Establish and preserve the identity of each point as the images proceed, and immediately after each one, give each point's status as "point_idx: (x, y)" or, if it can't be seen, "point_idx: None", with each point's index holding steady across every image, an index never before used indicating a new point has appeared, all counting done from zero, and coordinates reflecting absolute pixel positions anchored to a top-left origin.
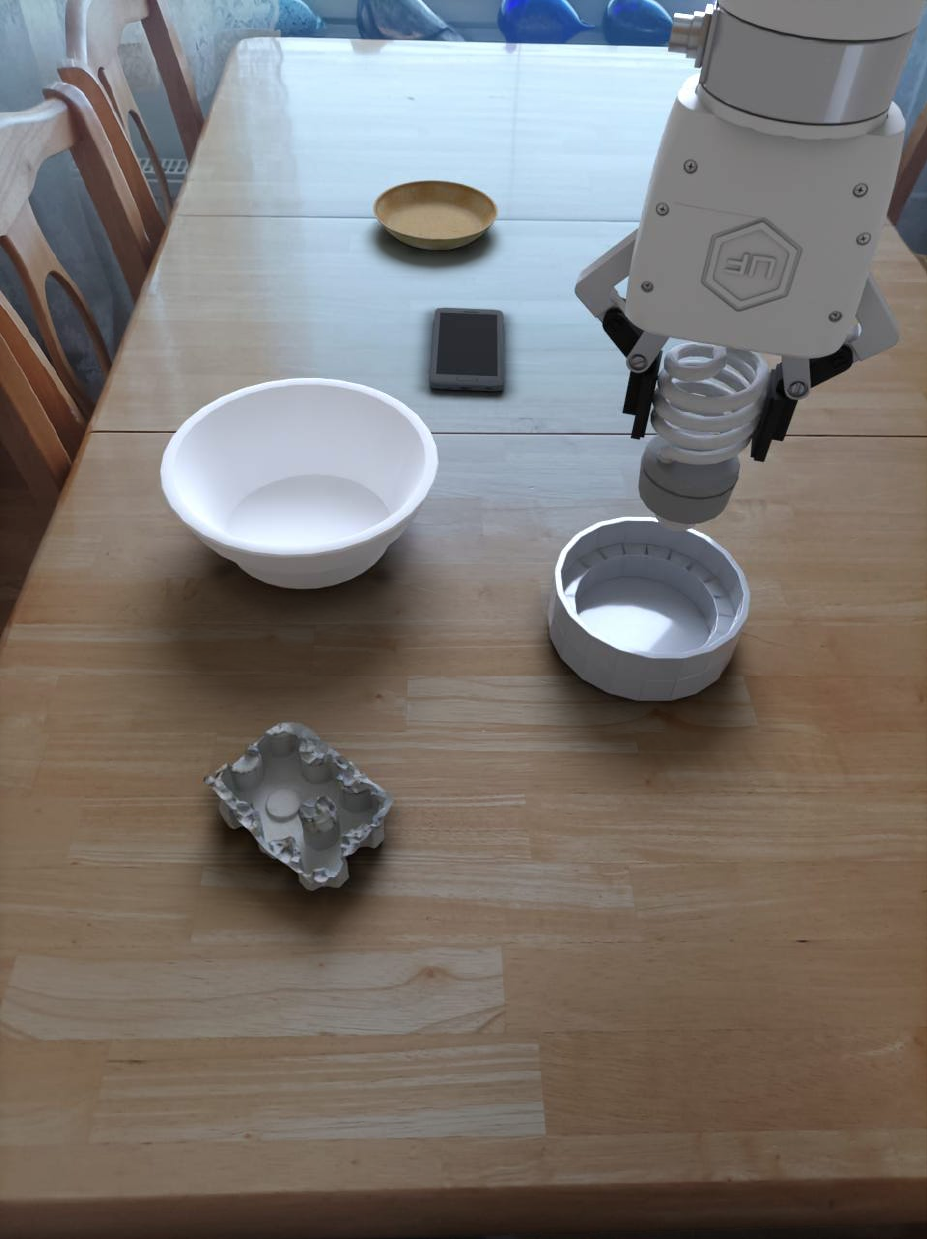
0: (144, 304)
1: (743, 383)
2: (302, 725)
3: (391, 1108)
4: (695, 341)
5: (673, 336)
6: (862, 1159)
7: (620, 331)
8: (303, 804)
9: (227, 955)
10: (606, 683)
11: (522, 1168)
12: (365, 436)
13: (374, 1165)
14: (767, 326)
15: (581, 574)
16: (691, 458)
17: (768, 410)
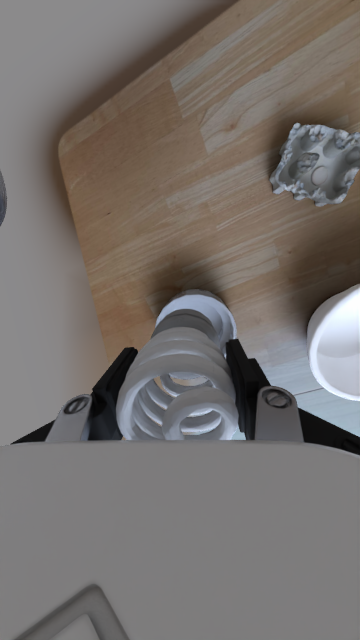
0: None
1: (153, 414)
2: (330, 203)
3: (230, 51)
4: (208, 440)
5: (260, 442)
6: (69, 135)
7: (336, 442)
8: (317, 159)
9: (324, 83)
10: (200, 290)
11: (173, 57)
12: (343, 376)
13: (230, 19)
14: (28, 520)
15: (223, 335)
16: (180, 328)
17: (113, 379)
